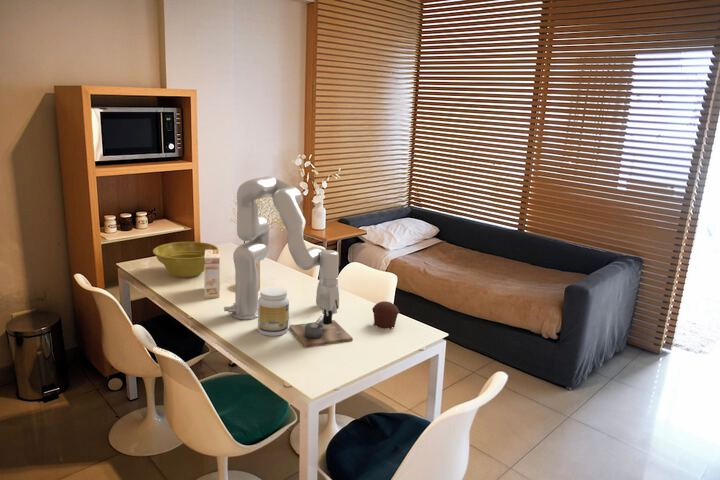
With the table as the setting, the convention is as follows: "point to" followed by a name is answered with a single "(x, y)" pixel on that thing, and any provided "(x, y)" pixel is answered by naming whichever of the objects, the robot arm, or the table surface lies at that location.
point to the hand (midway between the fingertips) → (327, 323)
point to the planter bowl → (183, 257)
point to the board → (330, 336)
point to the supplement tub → (273, 311)
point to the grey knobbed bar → (315, 329)
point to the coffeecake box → (212, 274)
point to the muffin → (385, 315)
